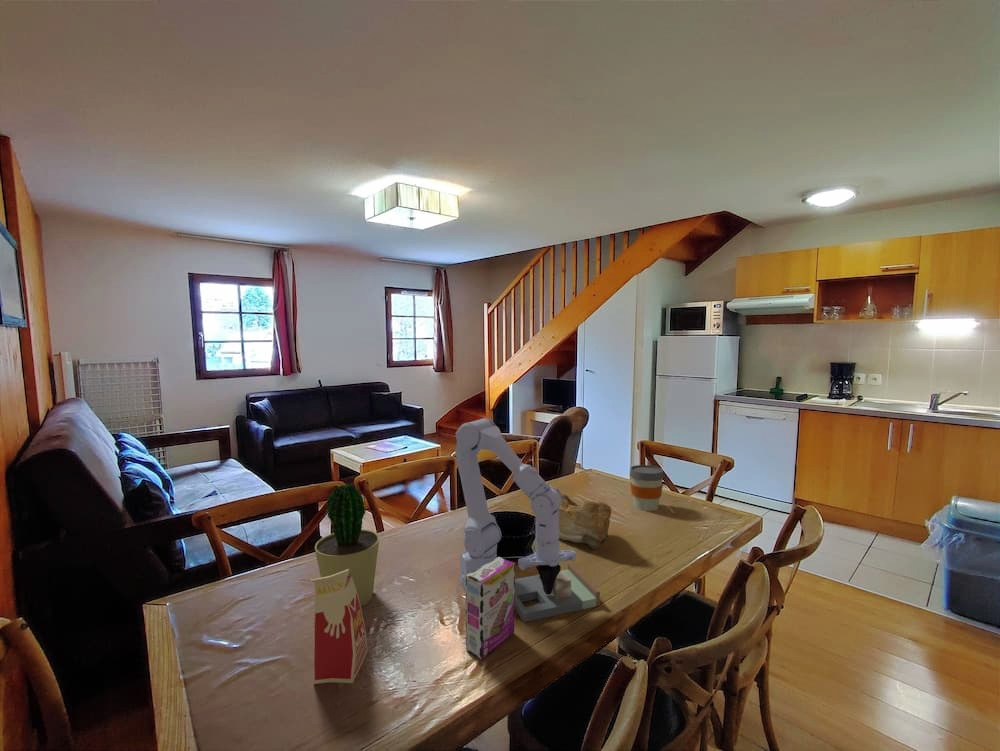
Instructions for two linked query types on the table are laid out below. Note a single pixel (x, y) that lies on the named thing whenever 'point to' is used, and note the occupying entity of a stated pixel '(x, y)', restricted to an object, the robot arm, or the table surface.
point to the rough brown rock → (584, 522)
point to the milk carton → (338, 630)
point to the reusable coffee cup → (646, 486)
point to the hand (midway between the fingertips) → (547, 592)
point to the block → (561, 586)
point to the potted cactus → (349, 542)
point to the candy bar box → (489, 606)
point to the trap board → (550, 606)
